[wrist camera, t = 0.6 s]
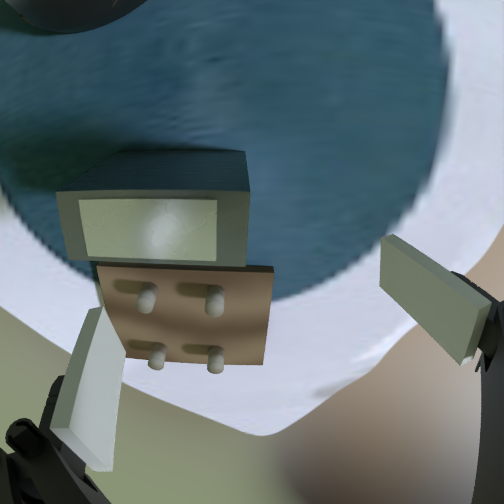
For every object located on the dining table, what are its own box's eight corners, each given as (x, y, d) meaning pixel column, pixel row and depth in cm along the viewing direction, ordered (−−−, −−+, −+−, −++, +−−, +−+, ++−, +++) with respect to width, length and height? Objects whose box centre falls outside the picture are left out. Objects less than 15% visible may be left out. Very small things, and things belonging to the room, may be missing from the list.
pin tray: (100, 260, 27) (86, 281, 24) (273, 266, 28) (277, 289, 25) (122, 350, 33) (114, 373, 30) (262, 358, 34) (264, 382, 31)
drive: (118, 151, 22) (53, 193, 13) (245, 151, 23) (250, 193, 14) (121, 198, 24) (67, 261, 15) (242, 200, 25) (245, 268, 16)
